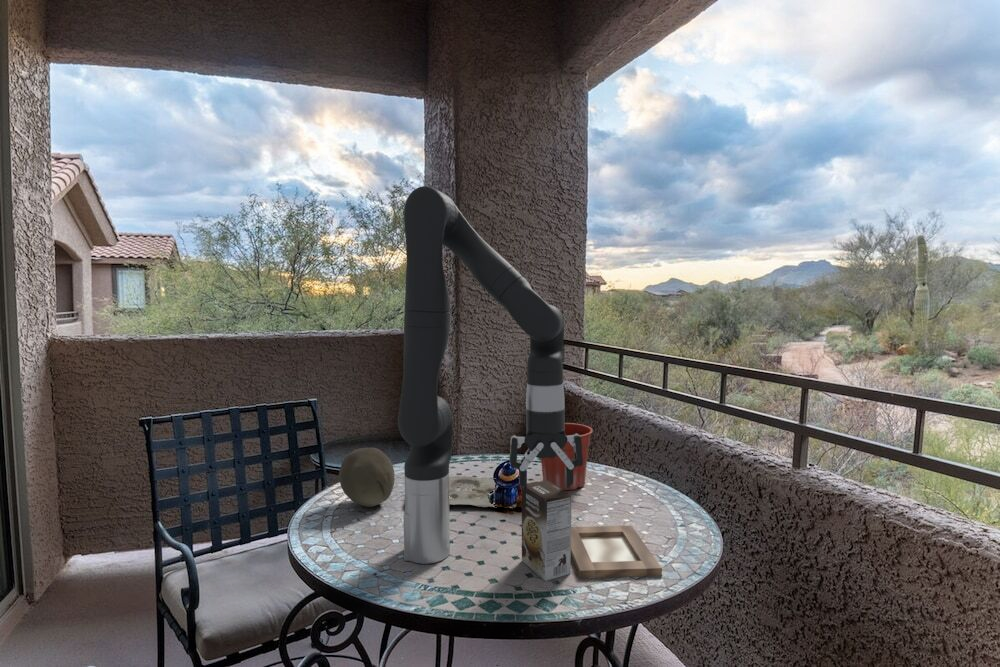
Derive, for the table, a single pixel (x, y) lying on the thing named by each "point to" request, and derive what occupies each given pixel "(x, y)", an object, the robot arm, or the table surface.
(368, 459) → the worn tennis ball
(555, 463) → the flower pot
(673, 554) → the table surface
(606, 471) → the table surface
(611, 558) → the walnut frame
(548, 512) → the coffee box
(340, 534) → the table surface
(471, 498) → the stone relief
